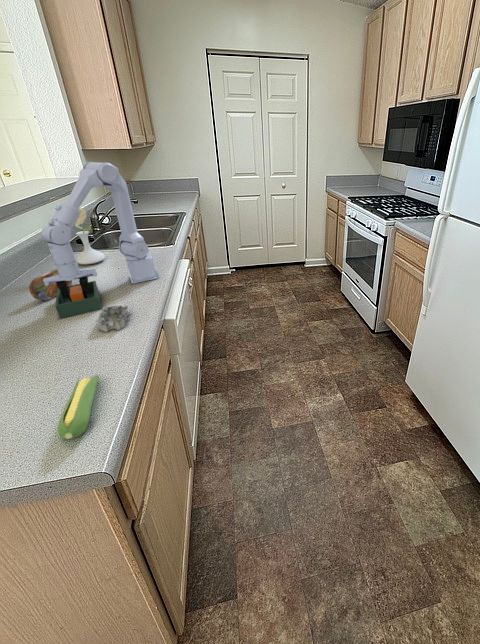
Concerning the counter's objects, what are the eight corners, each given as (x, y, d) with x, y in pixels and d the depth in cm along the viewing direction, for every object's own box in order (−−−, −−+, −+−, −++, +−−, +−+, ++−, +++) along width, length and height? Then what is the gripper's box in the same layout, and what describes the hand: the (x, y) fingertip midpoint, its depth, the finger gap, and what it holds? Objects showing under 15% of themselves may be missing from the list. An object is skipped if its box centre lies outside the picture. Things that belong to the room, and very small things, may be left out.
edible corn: (57, 449, 62) (48, 432, 60) (81, 381, 78) (75, 365, 76) (88, 441, 63) (80, 424, 61) (105, 375, 80) (100, 360, 78)
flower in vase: (72, 263, 148) (52, 207, 137) (97, 256, 157) (80, 202, 146) (88, 269, 142) (68, 210, 131) (113, 261, 151) (97, 205, 139)
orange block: (86, 297, 117) (81, 284, 115) (86, 305, 111) (82, 292, 109) (74, 300, 115) (69, 287, 113) (74, 308, 110) (69, 295, 108)
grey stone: (124, 329, 99) (120, 317, 97) (96, 333, 97) (92, 321, 95) (131, 312, 108) (128, 301, 106) (106, 315, 106) (102, 304, 104)
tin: (40, 304, 114) (31, 282, 110) (33, 303, 115) (23, 281, 111) (75, 286, 127) (68, 265, 123) (68, 285, 128) (60, 265, 124)
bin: (99, 291, 122) (95, 280, 120) (101, 308, 110) (97, 296, 108) (61, 299, 117) (57, 288, 115) (60, 318, 105) (55, 306, 103)
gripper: (37, 270, 100) (53, 309, 106) (91, 261, 107) (103, 298, 113) (39, 263, 106) (54, 301, 112) (91, 254, 112) (102, 290, 118)
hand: (79, 299), depth 113 cm, fingers closed on orange block, 3 cm apart
